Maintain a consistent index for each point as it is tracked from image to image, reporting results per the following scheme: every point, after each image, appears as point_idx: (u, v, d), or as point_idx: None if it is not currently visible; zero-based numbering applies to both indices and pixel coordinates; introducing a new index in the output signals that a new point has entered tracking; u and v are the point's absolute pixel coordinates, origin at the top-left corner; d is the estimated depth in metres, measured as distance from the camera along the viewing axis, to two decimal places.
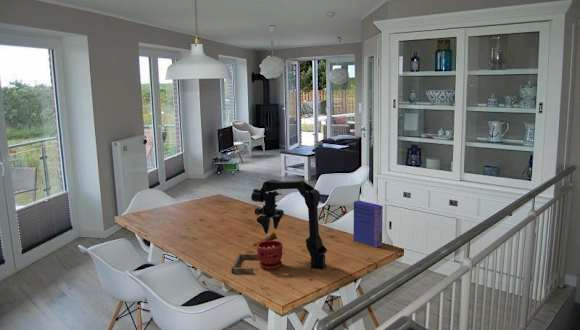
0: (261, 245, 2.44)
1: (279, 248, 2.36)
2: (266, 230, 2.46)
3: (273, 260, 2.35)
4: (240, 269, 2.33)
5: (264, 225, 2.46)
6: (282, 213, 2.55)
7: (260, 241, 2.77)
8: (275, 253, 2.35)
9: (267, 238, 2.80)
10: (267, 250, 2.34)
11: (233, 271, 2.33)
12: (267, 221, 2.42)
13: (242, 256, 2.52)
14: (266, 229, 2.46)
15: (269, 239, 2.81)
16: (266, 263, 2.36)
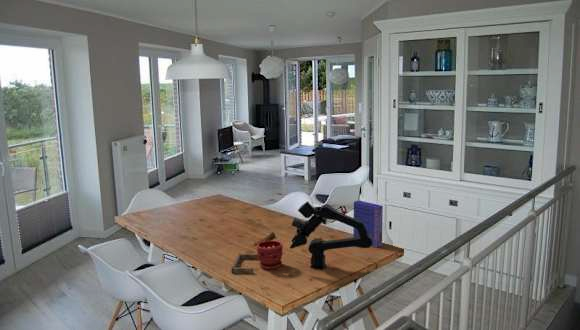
0: (261, 245, 2.44)
1: (279, 248, 2.36)
2: (294, 246, 2.34)
3: (273, 260, 2.35)
4: (240, 269, 2.33)
5: (296, 241, 2.33)
6: None
7: (260, 241, 2.77)
8: (275, 253, 2.35)
9: (267, 238, 2.81)
10: (267, 250, 2.34)
11: (233, 271, 2.33)
12: (305, 243, 2.30)
13: (242, 256, 2.52)
14: (295, 246, 2.33)
15: None
16: (266, 263, 2.36)
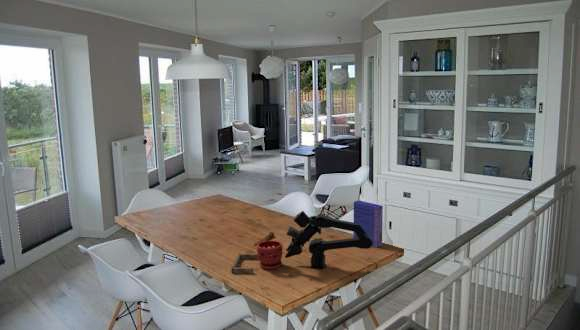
0: (261, 245, 2.44)
1: (279, 248, 2.36)
2: (289, 255, 2.35)
3: (273, 260, 2.35)
4: (240, 269, 2.33)
5: (291, 251, 2.34)
6: None
7: (260, 241, 2.78)
8: (275, 253, 2.35)
9: (266, 237, 2.81)
10: (267, 250, 2.34)
11: (233, 271, 2.33)
12: None
13: (242, 256, 2.52)
14: (290, 255, 2.34)
15: (268, 238, 2.82)
16: (266, 263, 2.36)
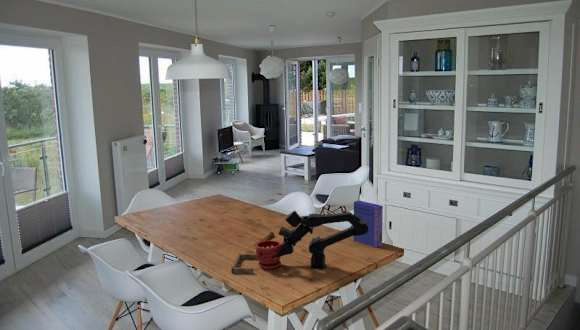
0: (260, 245, 2.44)
1: (278, 248, 2.36)
2: (280, 255, 2.35)
3: (272, 260, 2.35)
4: (240, 269, 2.33)
5: (282, 250, 2.34)
6: None
7: (261, 240, 2.78)
8: (274, 253, 2.35)
9: (267, 237, 2.81)
10: (266, 250, 2.34)
11: (233, 271, 2.33)
12: (291, 252, 2.31)
13: (242, 256, 2.52)
14: (281, 254, 2.35)
15: (269, 238, 2.82)
16: (265, 263, 2.36)
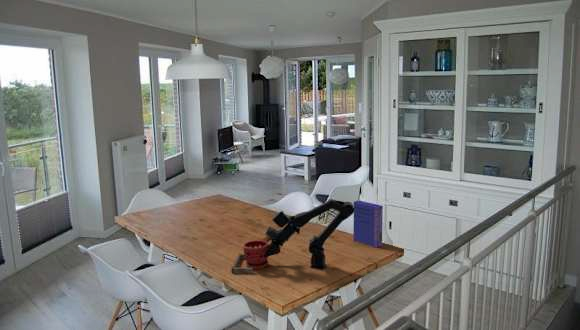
0: (247, 245, 2.45)
1: (265, 248, 2.37)
2: (267, 255, 2.35)
3: (259, 260, 2.36)
4: (240, 269, 2.33)
5: (270, 250, 2.34)
6: None
7: (261, 240, 2.78)
8: (261, 253, 2.35)
9: (267, 237, 2.82)
10: (253, 250, 2.34)
11: (233, 271, 2.33)
12: (278, 252, 2.32)
13: (242, 256, 2.52)
14: (268, 255, 2.35)
15: (269, 238, 2.83)
16: (252, 263, 2.37)
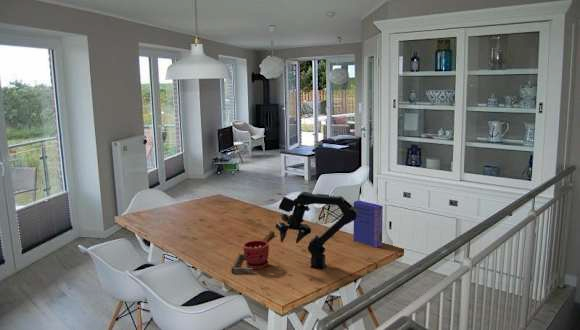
0: (247, 245, 2.45)
1: (265, 248, 2.37)
2: (281, 239, 2.38)
3: (259, 260, 2.36)
4: (240, 269, 2.33)
5: (281, 233, 2.38)
6: (308, 231, 2.41)
7: (262, 240, 2.79)
8: (261, 253, 2.35)
9: (268, 237, 2.83)
10: (253, 250, 2.34)
11: (233, 271, 2.33)
12: (282, 230, 2.33)
13: (242, 256, 2.52)
14: (281, 238, 2.38)
15: (270, 237, 2.84)
16: (252, 263, 2.37)
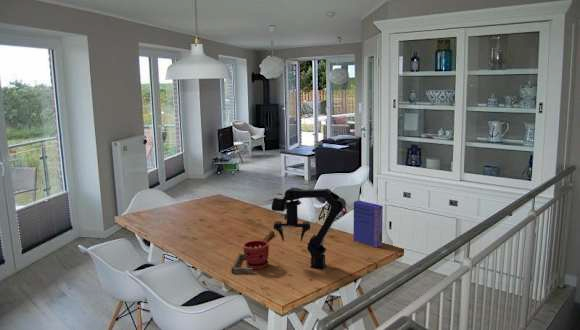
0: (247, 245, 2.45)
1: (265, 248, 2.37)
2: None
3: (259, 260, 2.36)
4: (240, 269, 2.33)
5: None
6: (306, 227, 2.38)
7: (263, 240, 2.79)
8: (261, 253, 2.35)
9: (268, 236, 2.83)
10: (253, 250, 2.34)
11: (233, 271, 2.33)
12: (276, 227, 2.39)
13: (242, 256, 2.52)
14: (281, 236, 2.42)
15: (270, 237, 2.84)
16: (252, 263, 2.37)
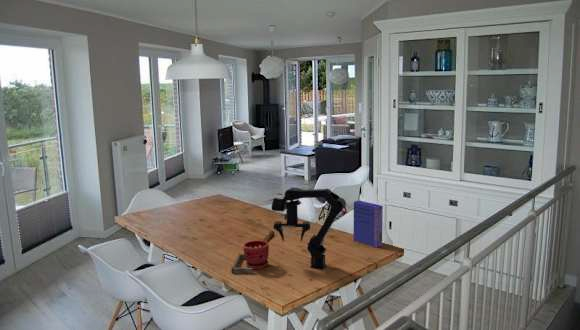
0: (247, 245, 2.45)
1: (265, 248, 2.37)
2: None
3: (259, 260, 2.36)
4: (240, 269, 2.33)
5: None
6: (306, 227, 2.38)
7: (263, 240, 2.79)
8: (261, 253, 2.35)
9: (268, 236, 2.83)
10: (253, 250, 2.34)
11: (233, 271, 2.33)
12: (276, 227, 2.39)
13: (242, 256, 2.52)
14: (281, 236, 2.42)
15: (270, 237, 2.84)
16: (252, 263, 2.37)
